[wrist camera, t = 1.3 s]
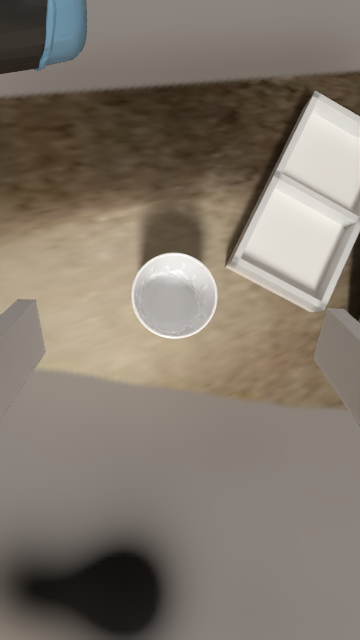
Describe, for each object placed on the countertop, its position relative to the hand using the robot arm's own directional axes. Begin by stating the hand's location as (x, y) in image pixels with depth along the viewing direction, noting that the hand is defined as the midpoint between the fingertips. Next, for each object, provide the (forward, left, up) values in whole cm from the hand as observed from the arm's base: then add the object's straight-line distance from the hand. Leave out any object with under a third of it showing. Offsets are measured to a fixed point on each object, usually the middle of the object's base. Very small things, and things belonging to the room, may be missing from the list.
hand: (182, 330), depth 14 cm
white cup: (-1, +4, -24) cm, 24 cm away
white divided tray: (+10, +24, -24) cm, 35 cm away
